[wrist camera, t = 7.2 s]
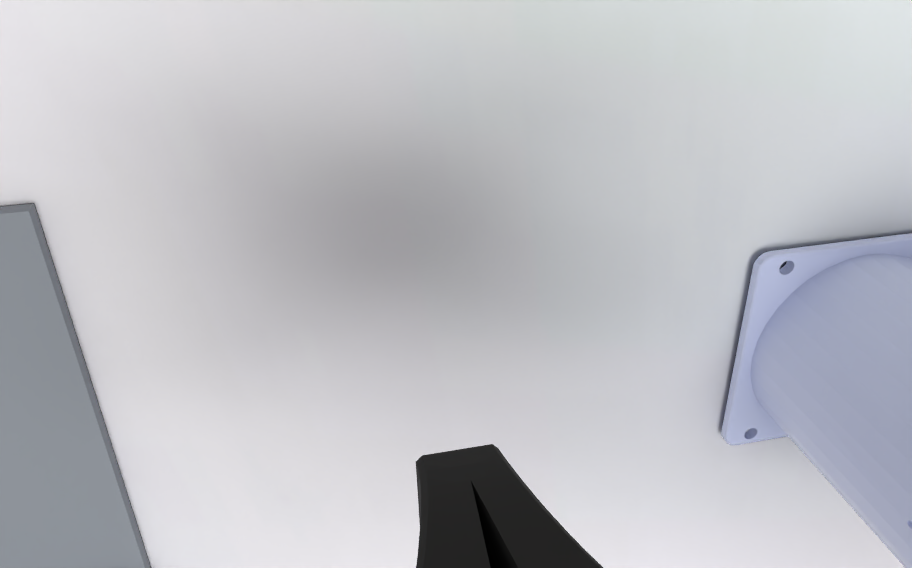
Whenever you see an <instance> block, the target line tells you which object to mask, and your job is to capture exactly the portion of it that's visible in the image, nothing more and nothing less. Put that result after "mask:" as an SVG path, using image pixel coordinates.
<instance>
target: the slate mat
mask: <svg viewBox="0 0 912 568" xmlns="http://www.w3.org/2000/svg"><path fill="white" fill-rule="evenodd" d="M0 568H151V566H150V563H149V560H148V557H147V554H146V551H145V548H144V545H143V542H142V538H141V535H140V532H139V529H138V526H137V523H136V520H135V517H134V514H133V510H132V507H131V504H130V501H129V498H128V495H127V492H126V489H125V486H124V482H123V479H122V476H121V473H120V470H119V467H118V464H117V461H116V457H115V454H114V451H113V448H112V445H111V442H110V439H109V436H108V433H107V429H106V426H105V423H104V420H103V417H102V414H101V411H100V408H99V405H98V401H97V398H96V395H95V392H94V389H93V386H92V383H91V380H90V376H89V373H88V370H87V367H86V364H85V361H84V358H83V355H82V352H81V348H80V345H79V342H78V339H77V336H76V333H75V330H74V327H73V324H72V320H71V317H70V314H69V311H68V308H67V305H66V302H65V299H64V296H63V292H62V289H61V286H60V283H59V280H58V277H57V274H56V271H55V267H54V264H53V261H52V258H51V255H50V252H49V249H48V246H47V243H46V239H45V236H44V233H43V230H42V227H41V224H40V221H39V218H38V215H37V211H36V208H35V205H34V203H32V204H21V205H11V206H1V207H0Z"/></svg>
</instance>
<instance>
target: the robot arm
mask: <svg viewBox="0 0 912 568" xmlns="http://www.w3.org/2000/svg"><path fill="white" fill-rule="evenodd" d="M786 261H787V263H786V265H785V266H784V267H783V268H781V269H779V268H780V266H781V265H782V264H783V263H784V262H786ZM748 429H749V430H748ZM747 430H748V431H747ZM721 435H722V437H723V438H724V440H725V441H726V442H727V444H729V445H740V444H746V443H751V442H757V441H763V440H769V439H775V438H780V437H786V436H789V437H790V439H791V440H792V441H793V442H794V443H795V444H796V445H797V446H798V448H799V449H800V450H801V451H802V452H803V453H804V454H805V455H806V457H807V458H808V459H809V460H810V461H811V462H812V463H813V464H814V466H815V467H816V468H817V469H818V470H819V471H820V472H821V473H822V475H823V476H824V477H825V478H826V479H827V480H828V481H829V482H830V484H831V485H832V486H833V487H834V488H835V489H836V490H837V491H838V493H839V494H840V495H841V496H842V497H843V498H844V499H845V500H846V502H847V503H848V504H849V505H850V506H851V507H852V508H853V509H854V511H855V512H856V513H857V514H858V515H859V516H860V517H861V518H862V520H863V521H864V522H865V523H866V524H867V525H868V526H869V527H870V529H871V530H872V531H873V532H874V533H875V534H876V535H877V536H878V538H879V539H880V540H881V541H882V542H883V543H884V544H885V545H886V547H887V548H888V549H889V550H890V551H891V552H892V553H893V554H894V556H895V557H896V558H897V559H898V560H899V561H900V562H901V563H902V565H903V566H904V567H905V568H912V233H909V234H901V235H893V236H885V237H877V238H869V239H861V240H853V241H845V242H838V243H830V244H822V245H814V246H806V247H798V248H790V249H782V250H774V251H768V252H765V253H763V254H762V255H760V256H759V257H758V258H757V259H756V261H755V263H754V265H753V270H752V275H751V280H750V285H749V290H748V296H747V301H746V306H745V311H744V316H743V322H742V327H741V332H740V337H739V342H738V348H737V353H736V358H735V363H734V368H733V374H732V379H731V384H730V389H729V394H728V400H727V405H726V410H725V415H724V421H723V426H722V431H721ZM416 472H417V487H418V503H419V518H420V536H419V548H418V558H417V566H416V568H603V567H602V566H601V565H600V564H599V563H598V562H597V561H596V560H595V559H594V558H593V557H592V556H591V555H590V554H588V553H587V552H586V551H585V550H584V549H583V548H582V547H581V546H580V545H579V543H578V542H577V541H576V540H575V539H574V538H573V537H572V536H571V535H570V534H569V533H568V532H567V531H566V530H565V529H564V528H563V527H562V526H561V524H560V523H559V522H558V521H557V520H556V519H555V518H554V517H553V516H552V515H551V514H550V512H549V511H548V510H547V509H546V508H545V507H544V506H543V505H542V503H541V502H540V501H539V500H538V499H537V498H536V496H535V495H534V494H533V493H532V492H531V490H530V489H529V488H528V487H527V486H526V484H525V483H524V482H523V481H522V479H521V478H520V477H519V476H518V474H517V473H516V472H515V471H514V469H513V468H512V467H511V465H510V464H509V463H508V461H507V460H506V459H505V457H504V456H503V455H502V453H501V452H500V450H499V449H498V448H497V447H495V446H494V445H493V444H491V445H484V446H478V447H472V448H466V449H460V450H454V451H447V452H441V453H435V454H429V455H423V456H421V457H420V458H419V459H418V460H417V461H416Z"/></svg>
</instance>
